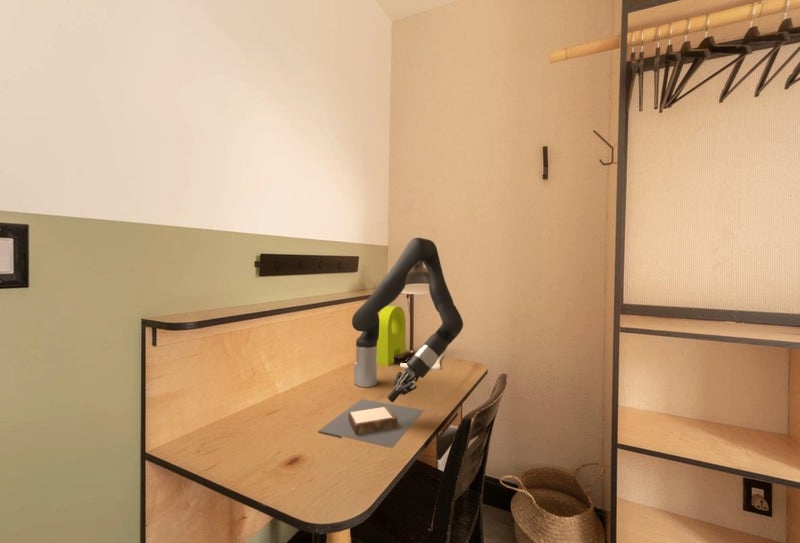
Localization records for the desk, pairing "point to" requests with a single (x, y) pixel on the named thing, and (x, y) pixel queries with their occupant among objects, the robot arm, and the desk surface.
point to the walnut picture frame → (372, 420)
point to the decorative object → (390, 334)
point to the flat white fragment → (435, 367)
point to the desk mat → (381, 437)
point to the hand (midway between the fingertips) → (389, 400)
